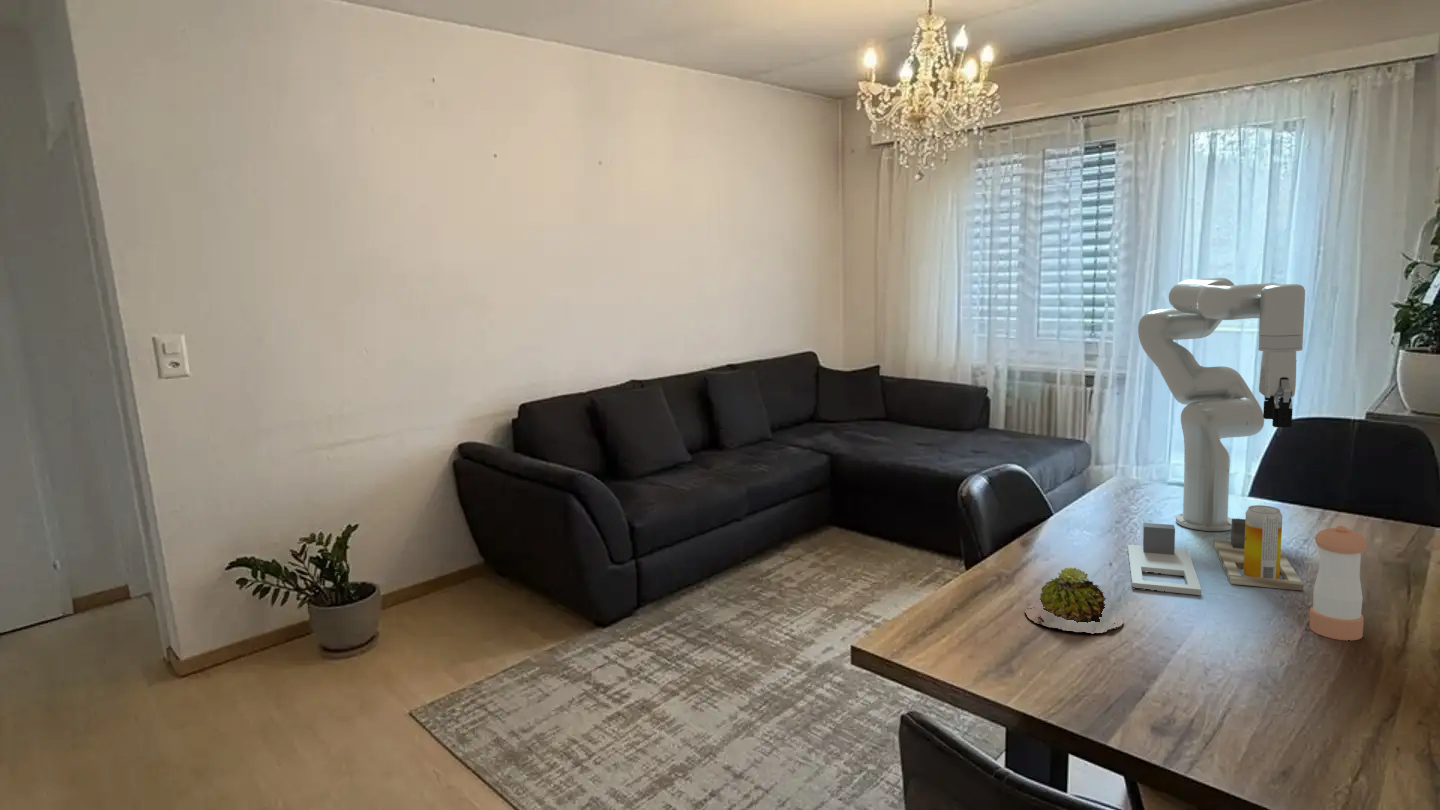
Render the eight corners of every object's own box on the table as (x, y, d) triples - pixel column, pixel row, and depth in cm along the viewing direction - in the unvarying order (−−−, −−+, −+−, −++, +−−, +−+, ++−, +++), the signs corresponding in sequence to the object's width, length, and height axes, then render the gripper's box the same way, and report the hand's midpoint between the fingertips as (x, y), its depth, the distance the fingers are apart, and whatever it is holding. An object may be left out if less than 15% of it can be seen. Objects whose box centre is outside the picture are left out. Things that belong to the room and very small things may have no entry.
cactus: (1026, 633, 140) (1026, 583, 139) (1022, 598, 155) (1022, 553, 153) (1130, 641, 134) (1131, 589, 133) (1116, 605, 149) (1117, 558, 148)
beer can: (1267, 572, 159) (1270, 504, 157) (1286, 584, 153) (1289, 512, 151) (1236, 573, 159) (1239, 505, 157) (1254, 585, 153) (1257, 513, 151)
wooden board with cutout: (1214, 545, 175) (1215, 515, 174) (1277, 550, 170) (1278, 519, 169) (1230, 583, 154) (1232, 550, 153) (1303, 590, 149) (1305, 555, 148)
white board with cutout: (1127, 549, 176) (1128, 519, 175) (1187, 554, 171) (1188, 523, 170) (1132, 588, 155) (1132, 554, 154) (1201, 595, 150) (1202, 560, 149)
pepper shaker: (1349, 644, 128) (1356, 536, 125) (1300, 629, 134) (1306, 525, 131) (1371, 633, 131) (1378, 527, 128) (1322, 618, 137) (1327, 517, 135)
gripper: (1251, 340, 169) (1248, 415, 171) (1267, 347, 154) (1263, 430, 156) (1292, 339, 166) (1289, 416, 168) (1312, 346, 150) (1308, 430, 153)
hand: (1276, 422), depth 162 cm, fingers open, 9 cm apart
